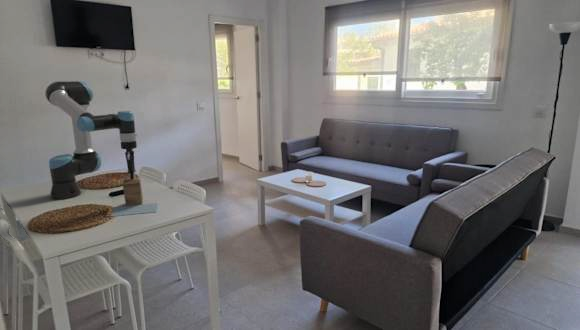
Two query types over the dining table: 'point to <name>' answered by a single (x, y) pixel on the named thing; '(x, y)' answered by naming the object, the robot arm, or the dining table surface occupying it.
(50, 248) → the dining table surface
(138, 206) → the mat
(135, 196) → the walnut block
